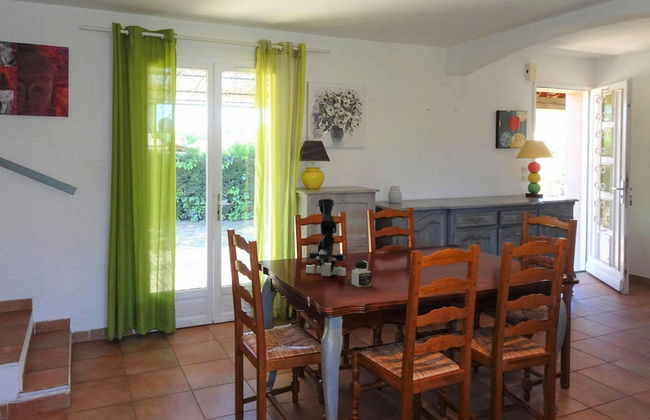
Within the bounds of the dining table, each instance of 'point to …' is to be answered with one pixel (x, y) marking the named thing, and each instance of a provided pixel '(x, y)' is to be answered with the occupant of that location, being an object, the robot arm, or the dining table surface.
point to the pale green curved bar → (335, 270)
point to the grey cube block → (326, 269)
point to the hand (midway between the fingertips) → (327, 272)
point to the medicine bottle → (361, 274)
